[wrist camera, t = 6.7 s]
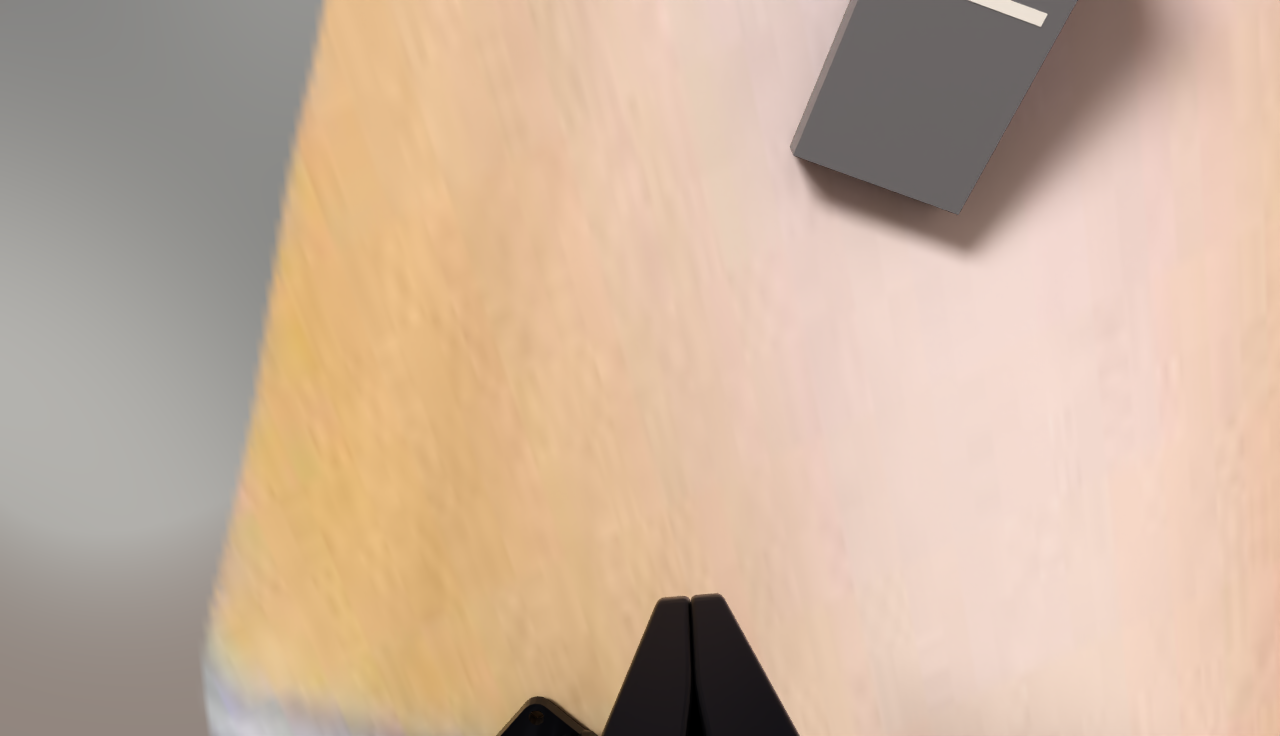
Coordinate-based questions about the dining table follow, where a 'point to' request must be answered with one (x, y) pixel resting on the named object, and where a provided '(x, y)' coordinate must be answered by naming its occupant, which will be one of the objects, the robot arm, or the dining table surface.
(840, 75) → the domino
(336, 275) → the dining table surface
